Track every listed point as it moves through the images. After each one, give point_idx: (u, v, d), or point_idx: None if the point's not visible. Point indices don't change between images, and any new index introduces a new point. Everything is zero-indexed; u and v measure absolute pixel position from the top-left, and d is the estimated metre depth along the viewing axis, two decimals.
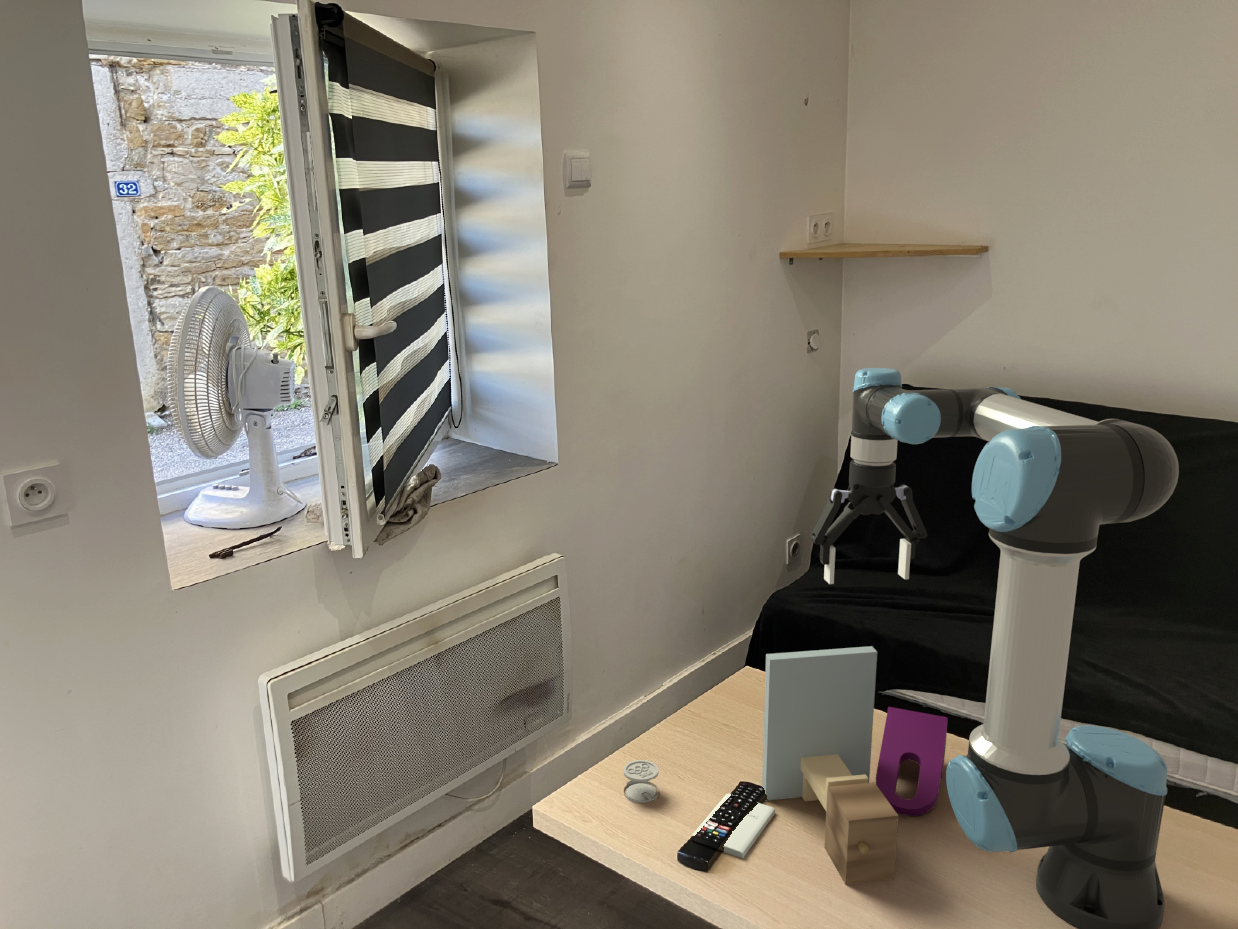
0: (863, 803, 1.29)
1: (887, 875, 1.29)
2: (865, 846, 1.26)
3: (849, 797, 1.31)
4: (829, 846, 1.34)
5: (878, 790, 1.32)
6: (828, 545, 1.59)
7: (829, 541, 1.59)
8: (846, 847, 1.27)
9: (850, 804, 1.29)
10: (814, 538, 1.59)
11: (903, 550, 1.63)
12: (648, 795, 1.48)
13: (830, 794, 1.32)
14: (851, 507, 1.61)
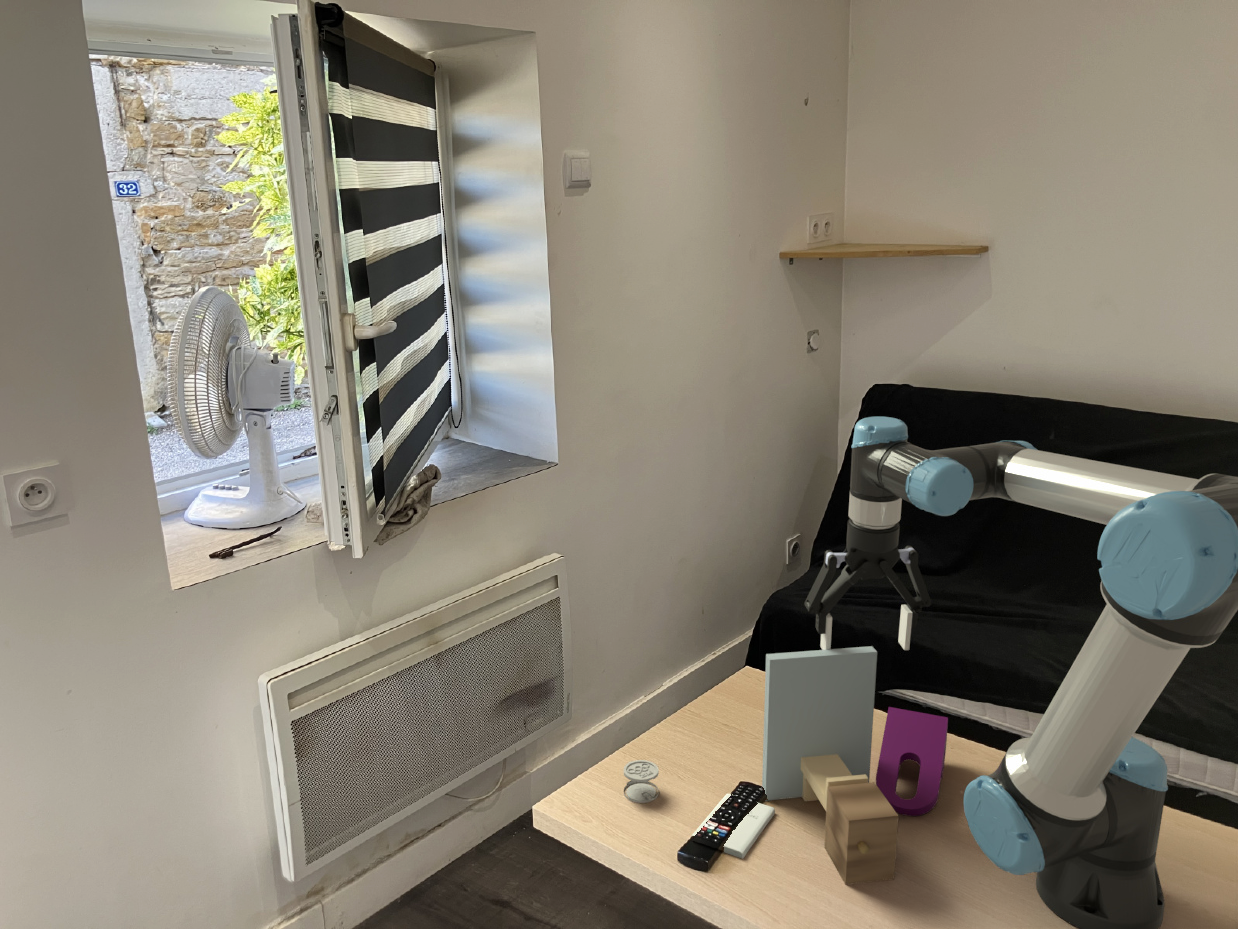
0: (863, 803, 1.29)
1: (887, 875, 1.29)
2: (865, 846, 1.26)
3: (849, 797, 1.31)
4: (829, 846, 1.34)
5: (878, 790, 1.32)
6: (824, 614, 1.43)
7: (825, 610, 1.43)
8: (846, 847, 1.27)
9: (850, 804, 1.29)
10: (808, 606, 1.43)
11: (904, 618, 1.45)
12: (648, 795, 1.48)
13: (830, 794, 1.32)
14: (849, 570, 1.43)
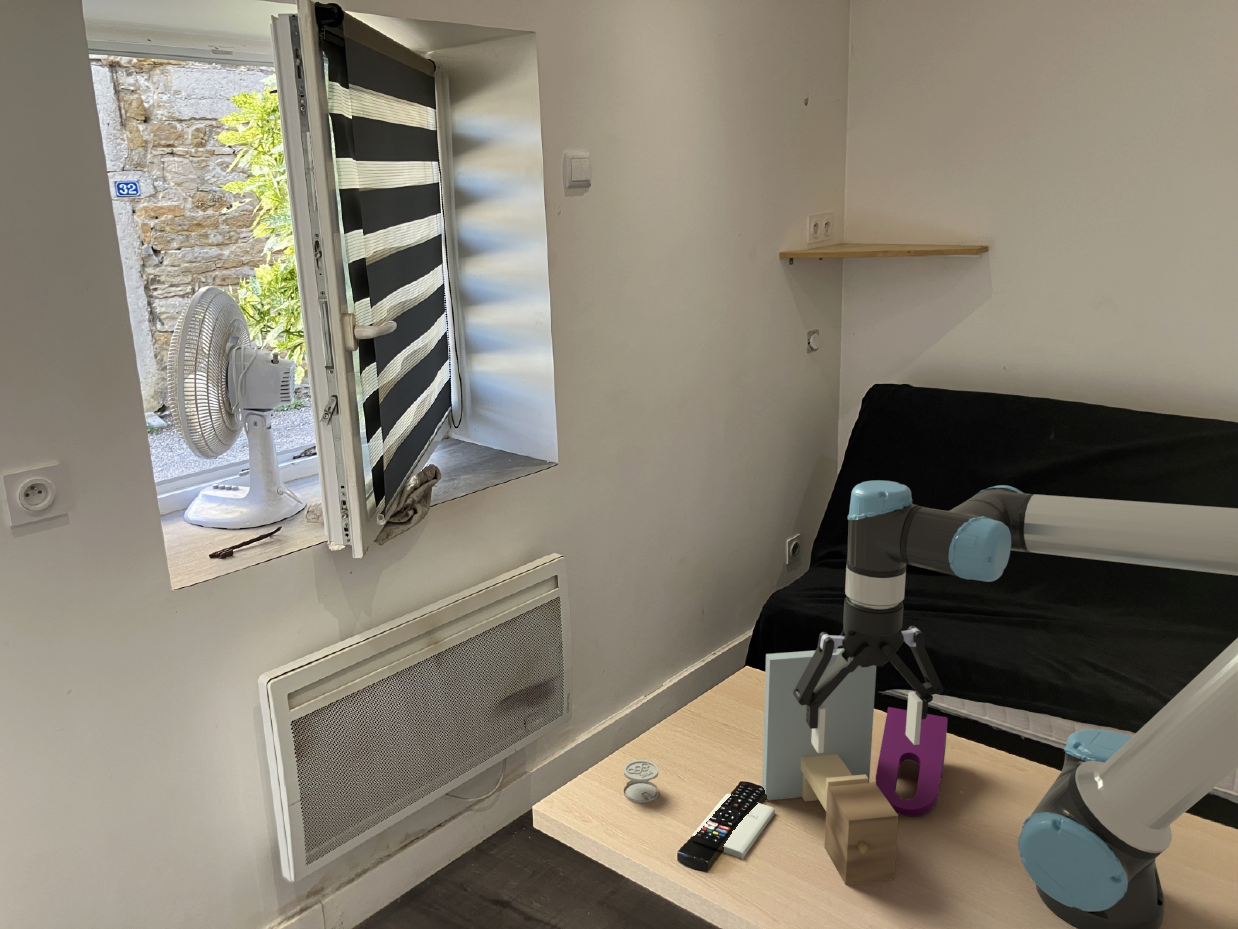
0: (863, 803, 1.29)
1: (887, 875, 1.29)
2: (865, 846, 1.26)
3: (849, 797, 1.31)
4: (829, 846, 1.34)
5: (878, 790, 1.32)
6: (816, 706, 1.24)
7: (817, 701, 1.24)
8: (846, 847, 1.27)
9: (850, 804, 1.29)
10: (798, 697, 1.24)
11: (912, 708, 1.28)
12: (648, 795, 1.48)
13: (830, 794, 1.32)
14: (846, 655, 1.26)
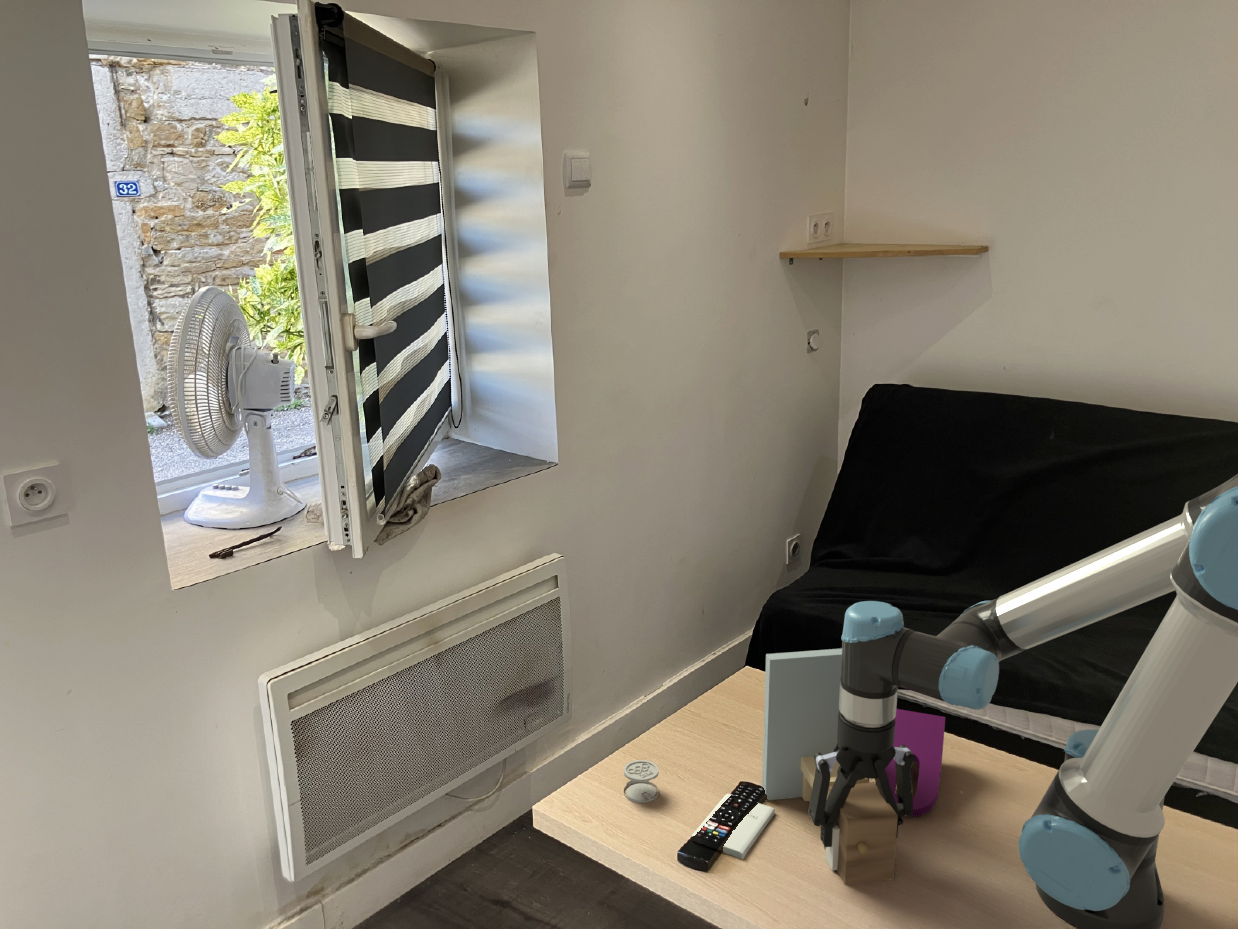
0: (862, 803, 1.29)
1: (887, 875, 1.29)
2: (864, 846, 1.26)
3: (848, 797, 1.31)
4: None
5: (878, 790, 1.32)
6: (831, 826, 1.29)
7: (831, 821, 1.29)
8: (846, 846, 1.27)
9: (849, 804, 1.29)
10: (813, 819, 1.29)
11: None
12: (648, 795, 1.48)
13: None
14: None
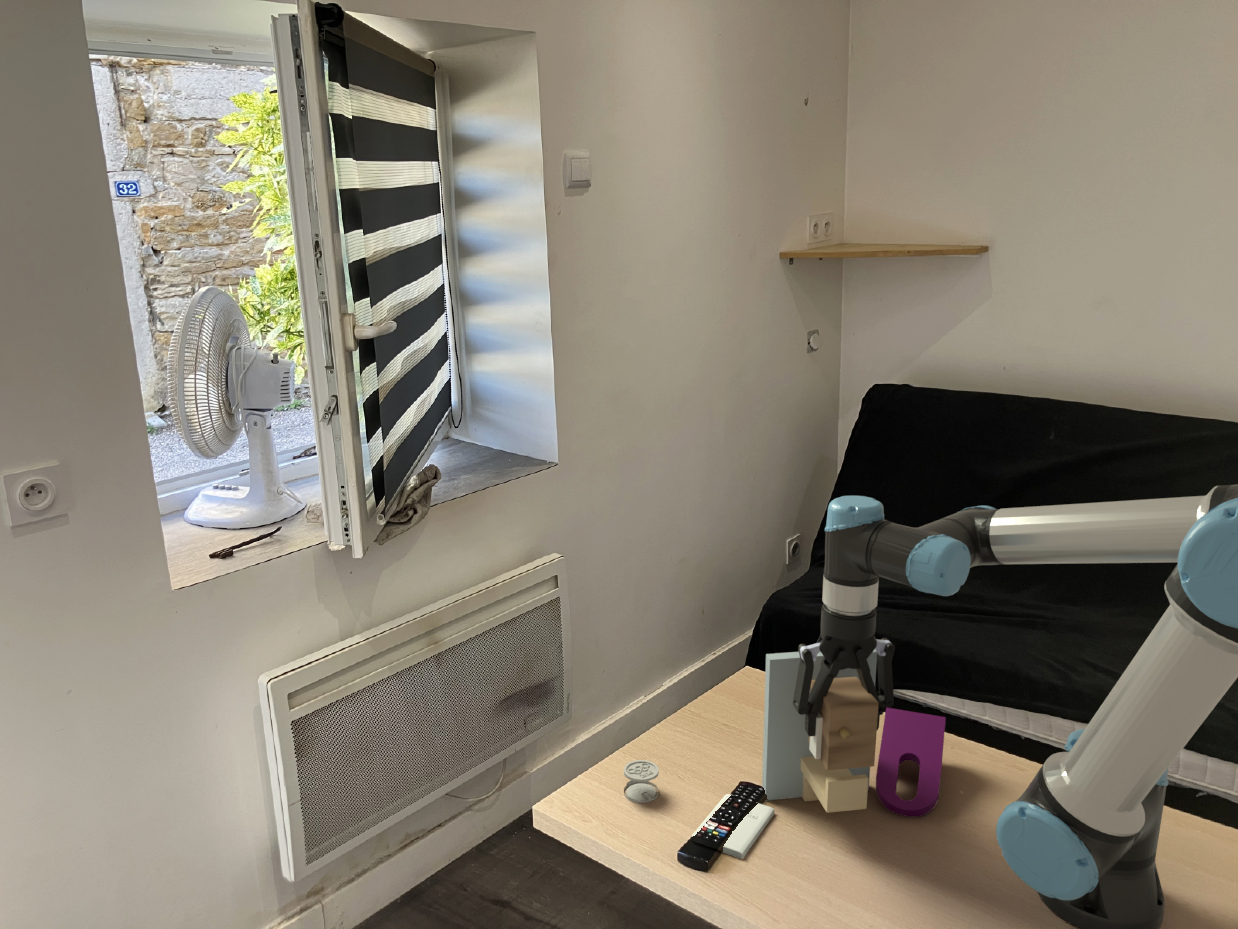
0: (845, 693, 1.34)
1: (868, 761, 1.33)
2: (846, 731, 1.31)
3: (831, 688, 1.36)
4: None
5: (860, 683, 1.37)
6: (815, 715, 1.33)
7: (814, 710, 1.33)
8: (828, 732, 1.32)
9: (832, 694, 1.34)
10: (797, 708, 1.33)
11: None
12: (648, 795, 1.48)
13: None
14: None
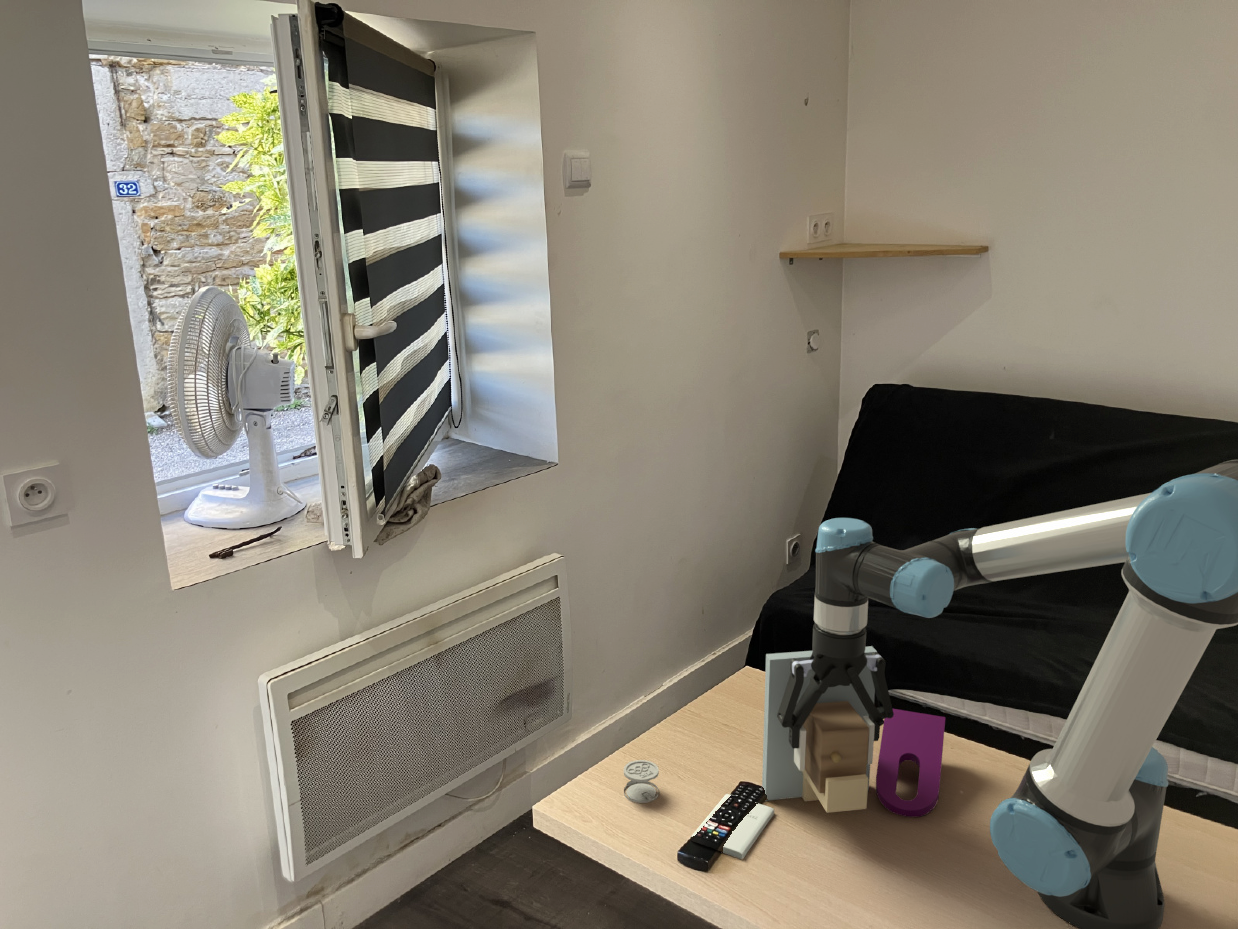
0: (836, 718, 1.38)
1: None
2: (837, 755, 1.35)
3: (823, 712, 1.40)
4: (805, 761, 1.42)
5: (851, 707, 1.41)
6: (798, 728, 1.37)
7: (798, 723, 1.37)
8: (820, 756, 1.36)
9: (824, 718, 1.38)
10: (781, 720, 1.37)
11: None
12: (648, 795, 1.48)
13: None
14: (818, 677, 1.38)
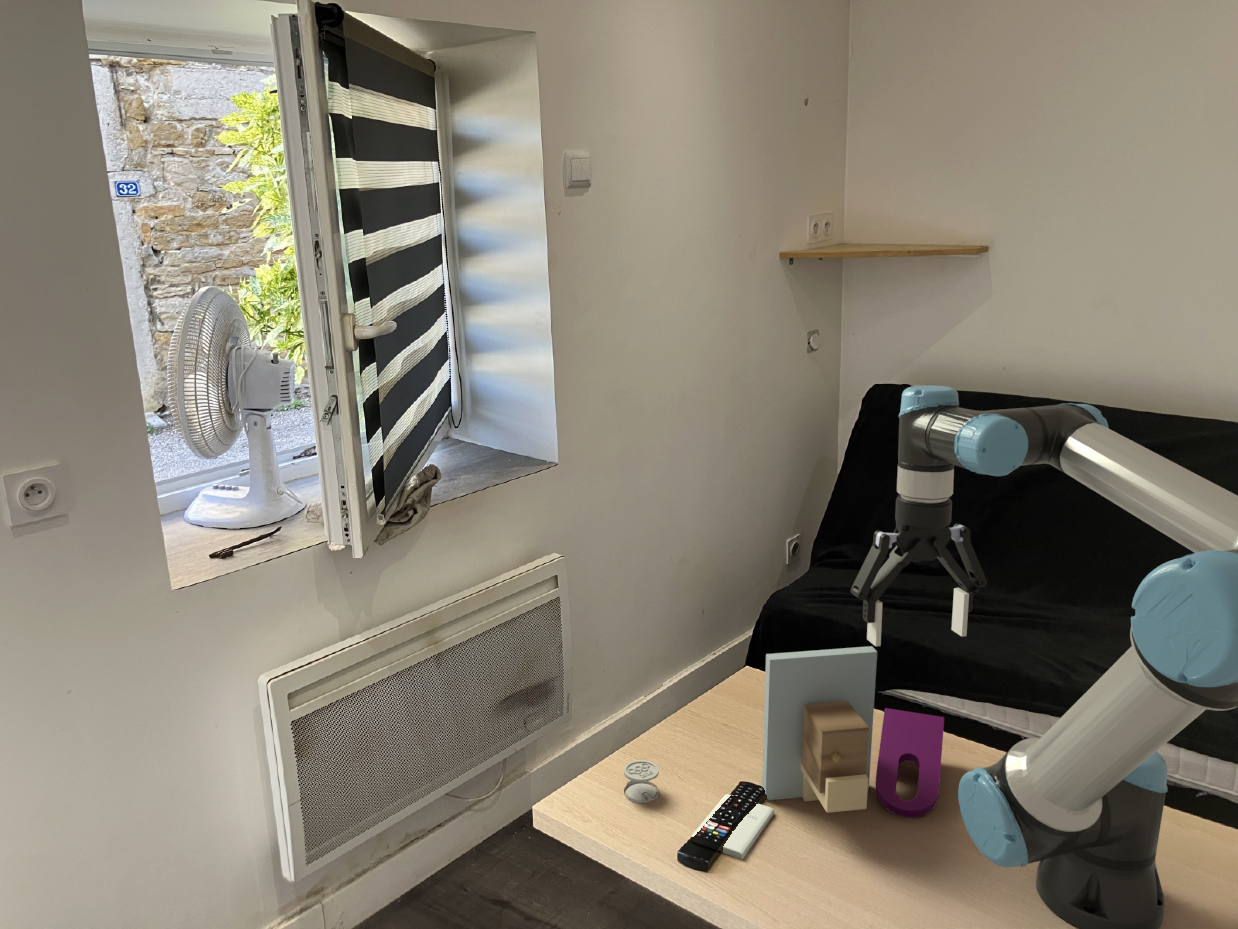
0: (836, 718, 1.38)
1: None
2: (837, 755, 1.35)
3: (823, 712, 1.40)
4: (805, 761, 1.42)
5: (851, 707, 1.41)
6: (874, 600, 1.32)
7: (875, 595, 1.32)
8: (820, 756, 1.36)
9: (824, 718, 1.38)
10: (857, 592, 1.32)
11: (959, 602, 1.36)
12: (648, 795, 1.48)
13: (806, 711, 1.41)
14: (898, 553, 1.34)
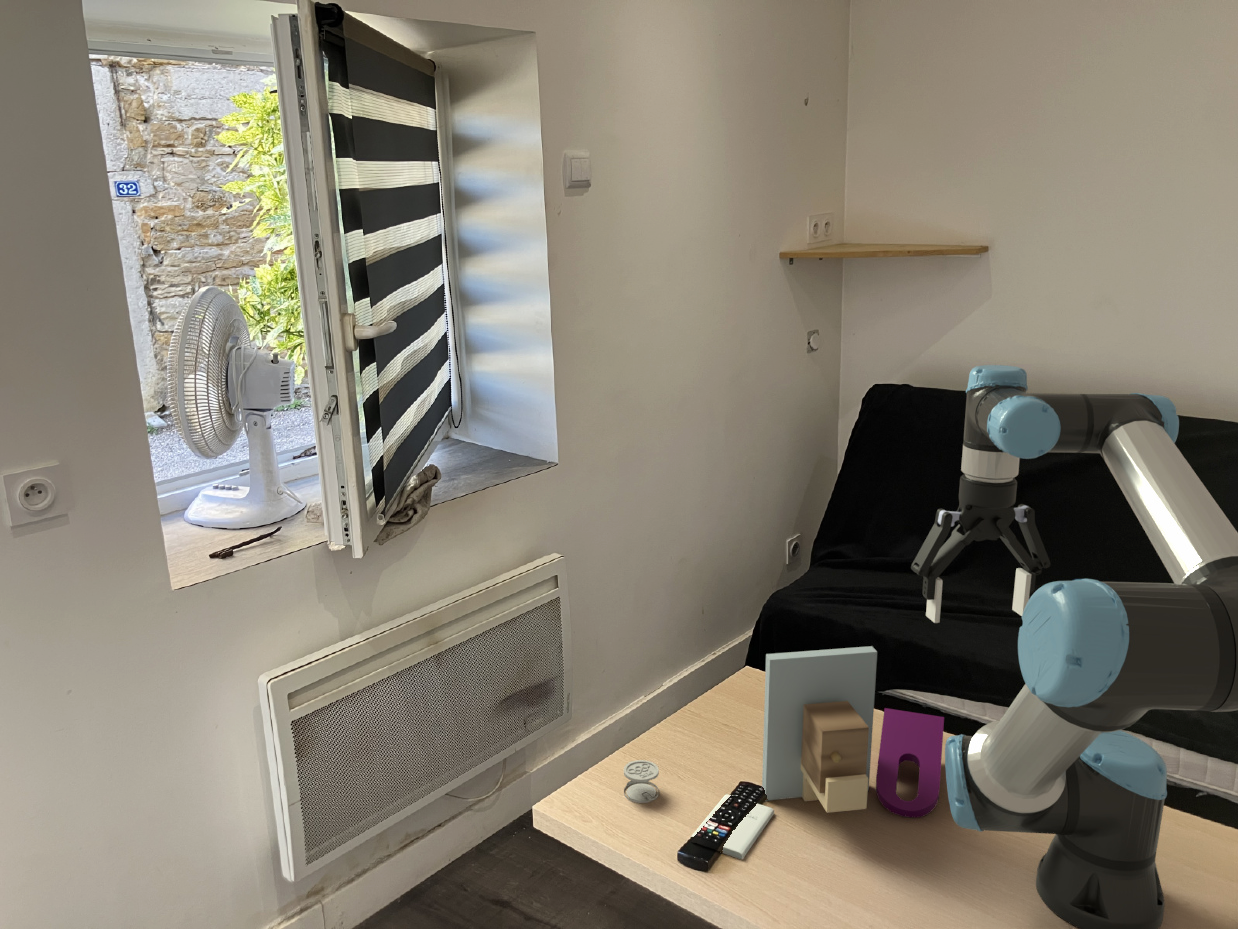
0: (836, 718, 1.38)
1: None
2: (837, 755, 1.35)
3: (823, 712, 1.40)
4: (805, 761, 1.42)
5: (851, 707, 1.41)
6: (934, 577, 1.33)
7: (935, 572, 1.33)
8: (820, 756, 1.36)
9: (824, 718, 1.38)
10: (918, 568, 1.33)
11: (1020, 582, 1.37)
12: (648, 795, 1.48)
13: (806, 711, 1.41)
14: (960, 531, 1.35)
